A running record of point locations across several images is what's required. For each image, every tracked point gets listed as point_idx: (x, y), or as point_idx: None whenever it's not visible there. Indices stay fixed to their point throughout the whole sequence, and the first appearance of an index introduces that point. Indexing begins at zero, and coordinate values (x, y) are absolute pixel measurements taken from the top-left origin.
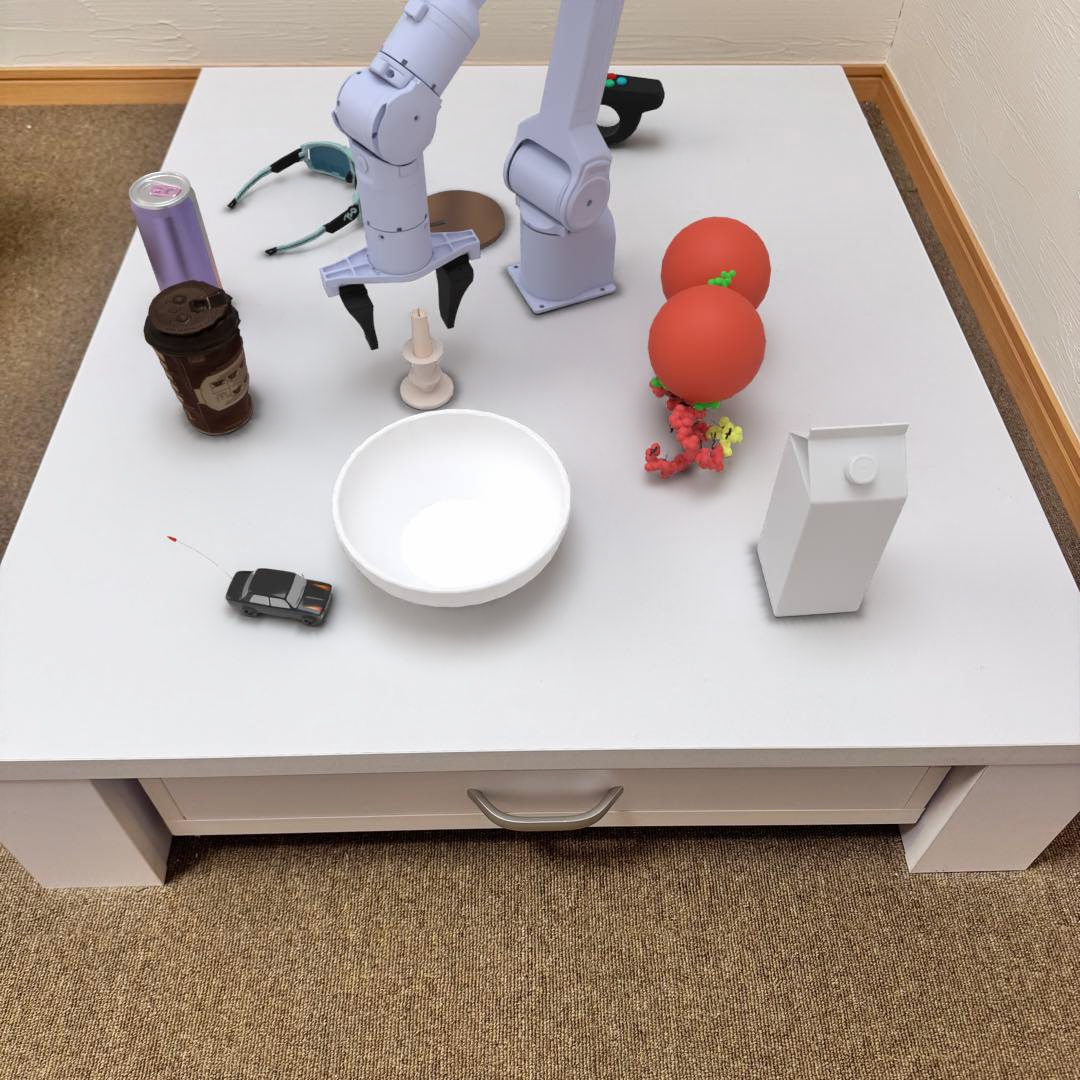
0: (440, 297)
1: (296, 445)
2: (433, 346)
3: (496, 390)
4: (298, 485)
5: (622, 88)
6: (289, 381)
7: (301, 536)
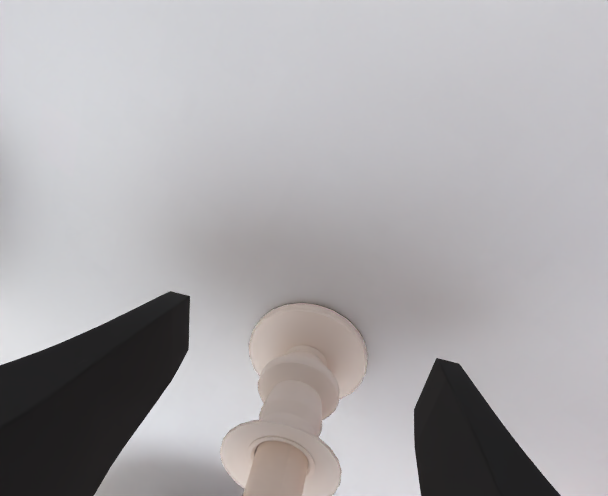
0: (458, 442)
1: (39, 312)
2: (317, 467)
3: None
4: None
5: None
6: (41, 149)
7: None
